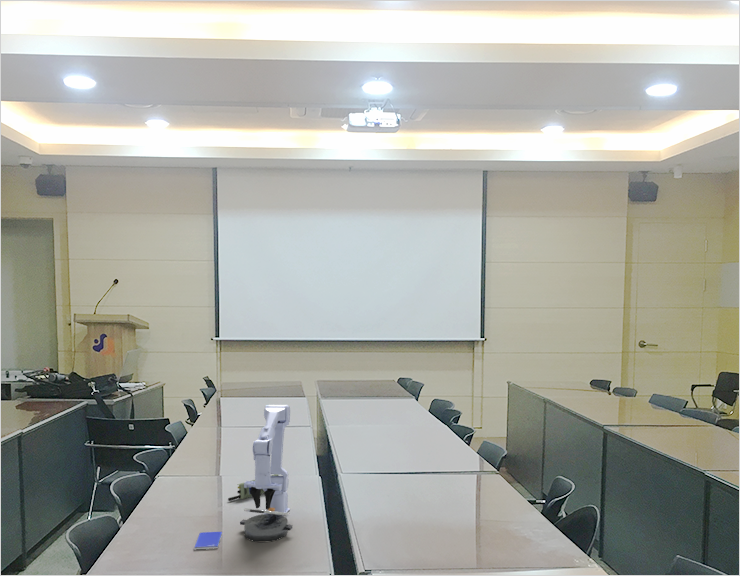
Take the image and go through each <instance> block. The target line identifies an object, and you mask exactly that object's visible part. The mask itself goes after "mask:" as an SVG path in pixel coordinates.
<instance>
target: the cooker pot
mask: <svg viewBox="0 0 740 576" xmlns="http://www.w3.org/2000/svg"><path fill="white" fill-rule="evenodd" d="M239 524H240V525H241V526H244V534H245V535H244V537H245V539H247V538H248V539H250V540H249V541H251V540H253V541H252V542H255V541H271V542H273V541H272V540H275V541H278V540H280V539H279V538H281V537H283V536H284V537H286V536H287V534H288V531H291V530H292V529H293V524H292V525H291V524H288V519H287V517H285V515H284V516H283V515H276V514H265V513H261V514H258V515H253V516H251V517H249V518H247V519H241V520H240V522H239ZM284 537H283V538H284ZM248 539H247V540H248ZM277 539H278V540H277ZM281 539H282V538H281Z"/></svg>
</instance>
